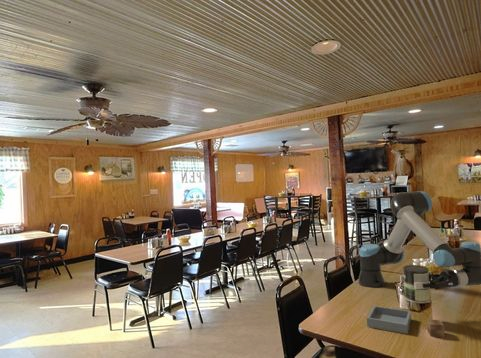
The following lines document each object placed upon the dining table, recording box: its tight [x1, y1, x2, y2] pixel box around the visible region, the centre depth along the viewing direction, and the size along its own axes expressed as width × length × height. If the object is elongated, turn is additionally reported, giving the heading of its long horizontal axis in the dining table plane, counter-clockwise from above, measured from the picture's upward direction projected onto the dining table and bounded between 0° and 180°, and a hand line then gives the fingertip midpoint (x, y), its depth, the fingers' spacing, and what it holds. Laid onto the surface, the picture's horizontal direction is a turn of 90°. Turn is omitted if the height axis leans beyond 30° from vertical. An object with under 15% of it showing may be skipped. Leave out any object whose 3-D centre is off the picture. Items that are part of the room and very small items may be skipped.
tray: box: [366, 305, 412, 335], centre depth 147 cm, size 16×16×4 cm
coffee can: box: [402, 264, 431, 304], centre depth 148 cm, size 10×10×14 cm
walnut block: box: [426, 318, 445, 339], centre depth 134 cm, size 5×5×5 cm
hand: (407, 282), depth 147 cm, fingers closed on coffee can, 10 cm apart
